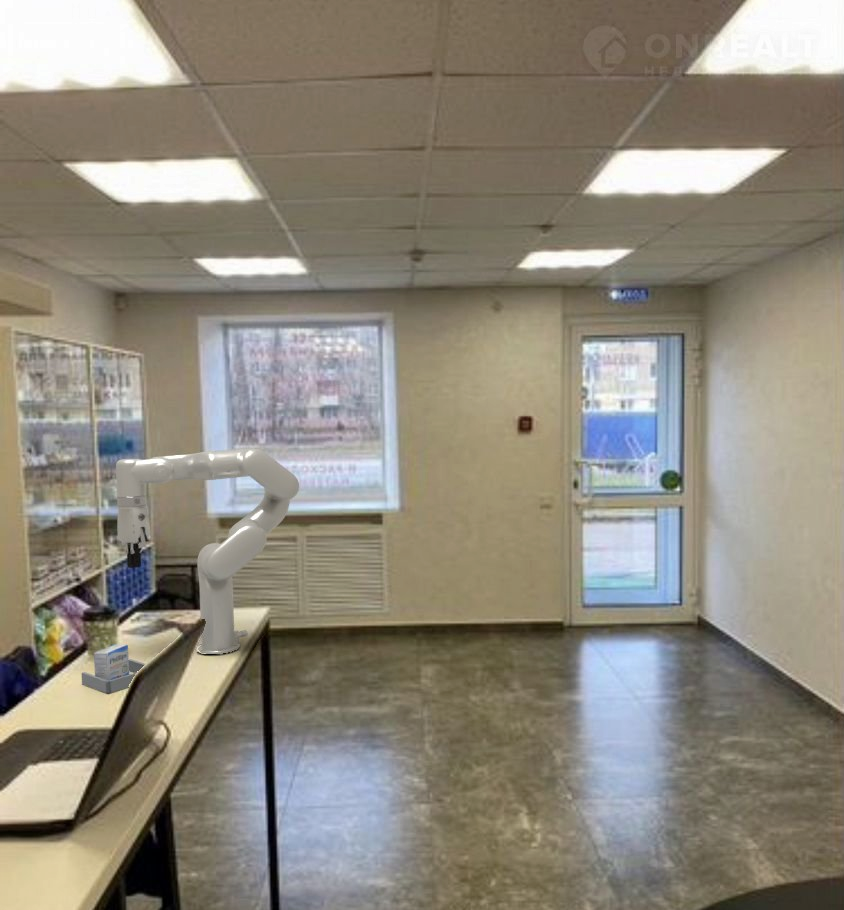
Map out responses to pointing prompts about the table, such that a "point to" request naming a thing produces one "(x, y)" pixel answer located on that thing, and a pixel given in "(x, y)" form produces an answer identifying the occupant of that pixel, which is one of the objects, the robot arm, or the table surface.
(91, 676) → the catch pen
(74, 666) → the table surface
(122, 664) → the medicine box
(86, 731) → the table surface
